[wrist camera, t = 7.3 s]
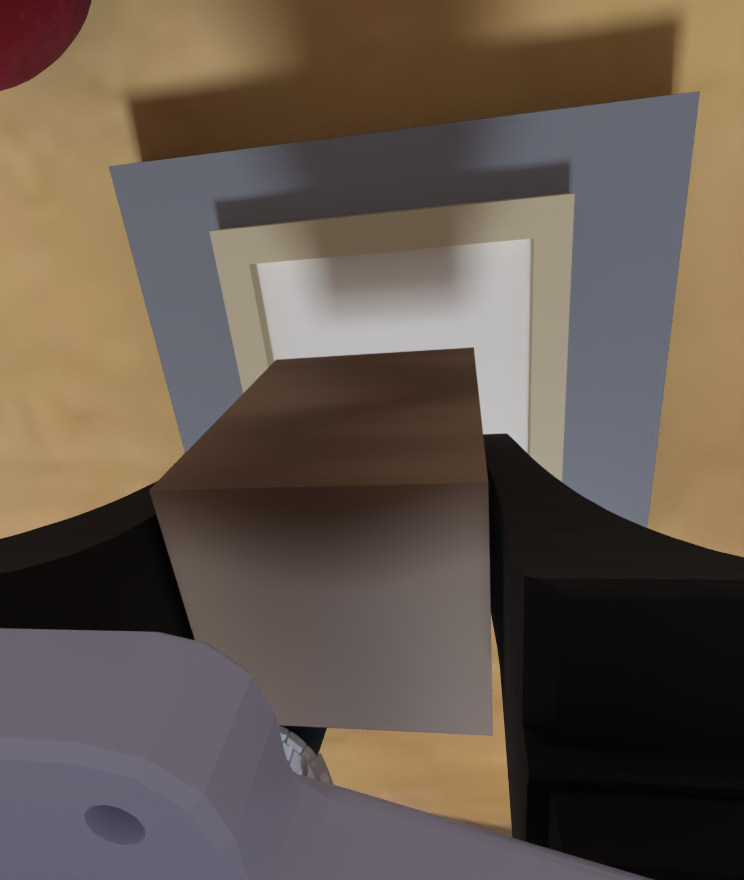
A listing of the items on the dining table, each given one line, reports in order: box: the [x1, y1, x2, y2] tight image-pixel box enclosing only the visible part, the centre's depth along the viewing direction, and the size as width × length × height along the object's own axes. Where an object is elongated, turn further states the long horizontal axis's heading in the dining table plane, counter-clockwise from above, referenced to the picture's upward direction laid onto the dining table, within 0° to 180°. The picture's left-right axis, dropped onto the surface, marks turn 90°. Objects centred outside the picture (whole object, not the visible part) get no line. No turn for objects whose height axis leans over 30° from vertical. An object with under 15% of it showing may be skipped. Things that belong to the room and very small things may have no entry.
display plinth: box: [109, 91, 700, 528], centre depth 19 cm, size 16×14×3 cm
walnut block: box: [149, 347, 493, 736], centre depth 11 cm, size 4×4×6 cm
